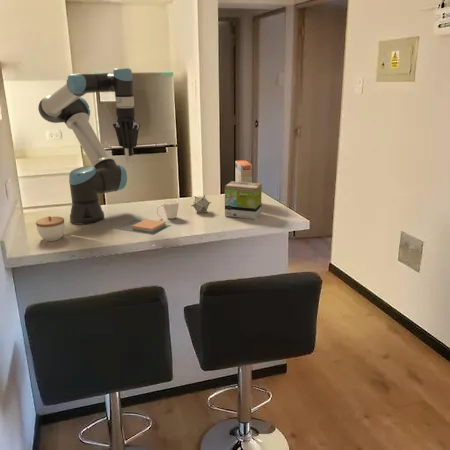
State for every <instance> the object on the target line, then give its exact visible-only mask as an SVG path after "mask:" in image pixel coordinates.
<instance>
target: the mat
mask: <svg viewBox="0 0 450 450" xmlns="http://www.w3.org/2000/svg"><path fill="white" fill-rule="evenodd" d="M141 221H142V220H138V219H132V220H131V221H130V220H129V221H128V222H126V223H123V224H122V225H118V227H114V230H119V231H124V232H125V231H126V232H132V233H138V234H143V235H144V234H145V235H151V236H154V235H156V234H158V233H160V232H162V231H164V230H167V228H170V227H172V225H171V224H166V223H165V225H166V226H165V227H163V228H161V229H159V230H157V231H155V232H153V233H149V232H143V231H137V230H132V226H133V225H135V224H137V223H139V222H141Z"/></svg>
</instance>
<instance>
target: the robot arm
mask: <svg viewBox="0 0 450 450" xmlns="http://www.w3.org/2000/svg"><path fill="white" fill-rule="evenodd" d="M133 80H134V78H133V71H132V69H130V68H113V71H112V73H111V72H104V73H103V72H102V73H72V74H69V75H68V76H67V79H66V83H65V84H64V85H63V86H62V87H60V88H59V89H58V90H57V91H55V92H54V93H53V94H51V95H47V96H44V97H43V98H42V99H41V100H40V101H39V103H38V108H37V109H38V112H39V114H40V117H41V118H43V120H45V121H47V122H49V123H53V124H58V123H64V124H65V125H66V127H67V128H68V130H72V131H73V133H74V135H75V137H76V139H77V141H78V142H79V144H80V146H81V148H82V149H83V152H84V153H85V155H86V157H87V158H88V161H89V162H90V164H91V165H90V166H89V165H88V166H82V167H77V168H74V169H73V170H71V171H70V173H69V175H68V179H69V181H68V182H69V183H68V184H69V187H70V195H71V208H70V209H71V210H70V214H69V221H70V223H72V224H76V225H89V224H91V225H92V224H95V223H98V222H100V221H103V220H104V219H105V213H104V211H103V207H102V206H101V204H100V203H101V202H100V199H99V195H102V194H108V193H113V192H117V191H121V190H123V189H124V188H125V187H126V186H127V182H128V174H127V170H126V167H125V166H124V165H123V164H117V162H116V161H115V159H113V158H110V157H109V155H108V154H107V151H106V150H105V148H104V146H103V145H102V143H101V141H100V139H99V138H98V136H97V134H96V132H95V131H94V129H93V127H92V125H91V124H90V116H91V110H90V106H89V102H87V100H86V99H84V98H83V96H85V95H86V94H93V93H94V94H95V93H114V95H115V96H114V98H115V107H116V108H115V112H116V117H117V120H116V123H113V124H112V126H113V128H114V131H115V134H116V138H117V142H118V144H119V145H118V146H119V147H122V148H123V156H124V157H125V164H128V165H129V164H133V156H134V149H133V148H135V147H137V144H138V137H139V130H140V128H141V125H140V124H138V123H136V120H135V116H136V114H135V111H136V110H135V107H134V106H135V99H134V98H135V97H134V83H133V82H134V81H133Z"/></svg>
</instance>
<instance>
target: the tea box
mask: <svg viewBox="0 0 450 450" xmlns="http://www.w3.org/2000/svg"><path fill="white" fill-rule="evenodd" d="M262 186H263V184H262V183H259V182H252V183H247V182H235V181H233V180H231V181H230V182H229V183H227V184H225V185H224V216H225V217H234V218H240V219H241V218H242V219H249V220H250V219H251V220H257V218H258V217H260V215H261V214H262V195H263V194H262V193H263V192H262V189H263V188H262Z"/></svg>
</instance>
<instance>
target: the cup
mask: <svg viewBox="0 0 450 450" xmlns="http://www.w3.org/2000/svg"><path fill="white" fill-rule="evenodd" d="M179 204H180V203H179V201H178V200H173V199H172V200H171V199H170V200H165V201H163V203H162V204H159V205H158V206H157V207H156V214H157V216H158V217H159V218H160V219H162V220H165V218H164V217H162V216H161V215H159V213H158V212H159V211H158V210H159V208H160V207H163V209H164V214H165V217H166V218H167V219H171V220H172V219H177V217H178V211H179Z"/></svg>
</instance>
